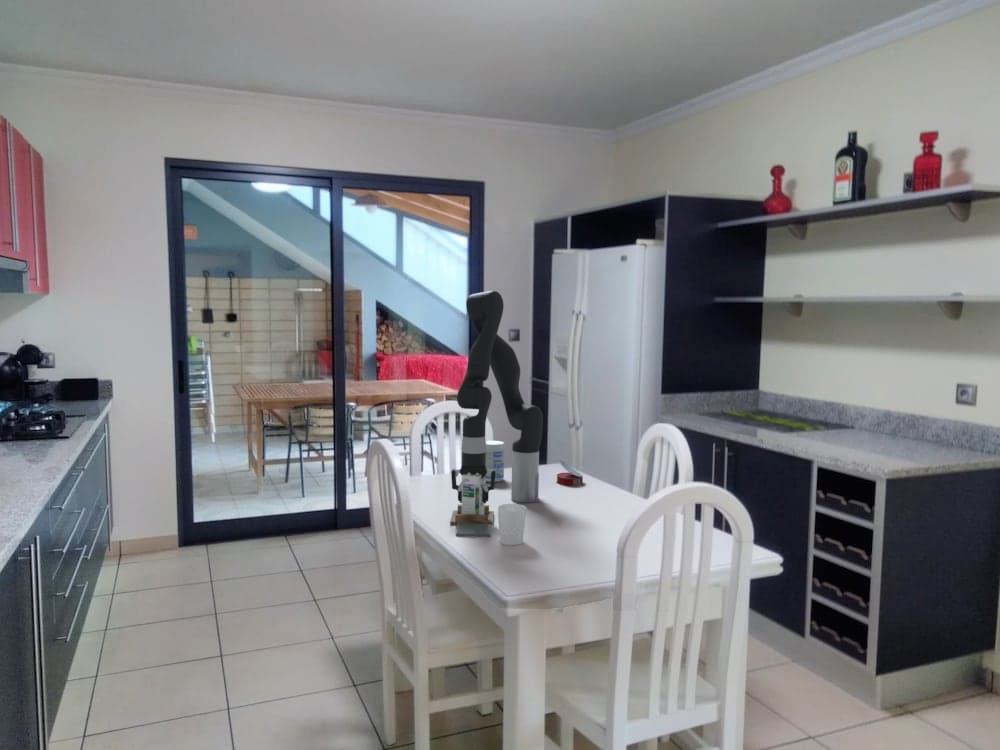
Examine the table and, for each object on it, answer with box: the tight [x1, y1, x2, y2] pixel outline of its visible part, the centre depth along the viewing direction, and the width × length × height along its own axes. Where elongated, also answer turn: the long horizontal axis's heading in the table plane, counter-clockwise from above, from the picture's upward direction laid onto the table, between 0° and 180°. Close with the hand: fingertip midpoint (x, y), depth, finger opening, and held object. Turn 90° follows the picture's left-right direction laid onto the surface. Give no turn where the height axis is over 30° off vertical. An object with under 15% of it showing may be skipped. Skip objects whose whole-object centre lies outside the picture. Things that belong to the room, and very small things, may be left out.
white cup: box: [497, 503, 527, 546], centre depth 206 cm, size 8×8×10 cm
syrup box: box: [461, 474, 485, 515], centre depth 227 cm, size 6×6×14 cm
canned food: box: [556, 460, 584, 487], centre depth 278 cm, size 11×10×10 cm
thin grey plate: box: [455, 523, 492, 538], centre depth 215 cm, size 10×10×1 cm
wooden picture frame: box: [449, 503, 495, 527], centre depth 227 cm, size 13×12×3 cm
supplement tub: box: [485, 440, 505, 483], centre depth 280 cm, size 10×10×15 cm
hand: (473, 502), depth 227 cm, fingers closed on syrup box, 7 cm apart
